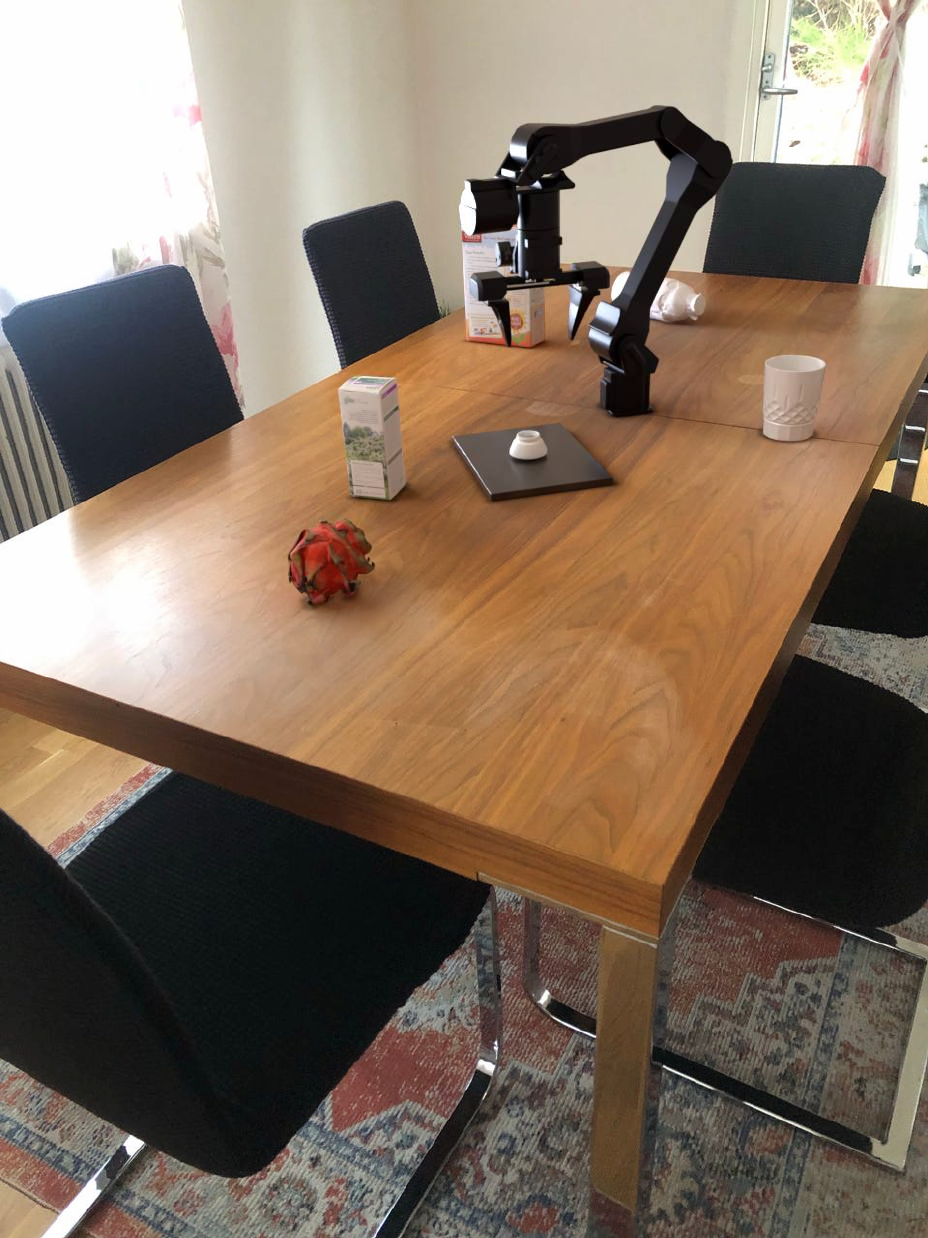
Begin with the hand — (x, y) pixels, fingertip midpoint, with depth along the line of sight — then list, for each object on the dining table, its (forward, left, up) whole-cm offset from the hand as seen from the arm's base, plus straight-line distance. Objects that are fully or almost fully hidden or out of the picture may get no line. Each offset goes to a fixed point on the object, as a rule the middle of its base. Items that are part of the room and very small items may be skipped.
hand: (540, 343), depth 147 cm
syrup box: (+27, +17, -12) cm, 34 cm away
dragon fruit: (+36, +43, -12) cm, 57 cm away
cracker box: (-7, -46, -12) cm, 48 cm away
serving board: (+6, +14, -12) cm, 19 cm away
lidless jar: (+6, +14, -11) cm, 19 cm away
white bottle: (-39, -50, -12) cm, 65 cm away
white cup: (-31, +16, -12) cm, 37 cm away
